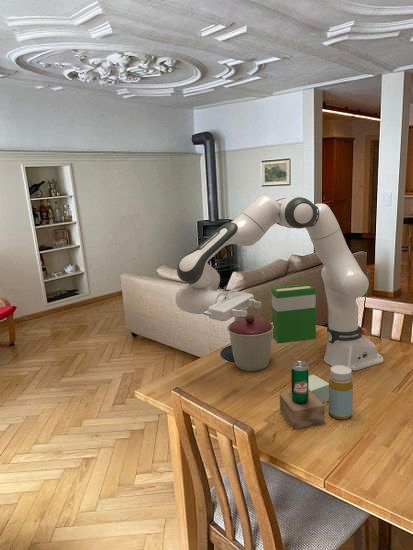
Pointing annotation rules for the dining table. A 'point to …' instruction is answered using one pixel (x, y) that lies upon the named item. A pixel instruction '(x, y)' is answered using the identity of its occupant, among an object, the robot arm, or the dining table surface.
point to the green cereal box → (294, 313)
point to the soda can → (300, 382)
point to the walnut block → (302, 411)
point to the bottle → (340, 392)
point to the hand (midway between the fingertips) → (253, 309)
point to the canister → (251, 342)
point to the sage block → (319, 388)
